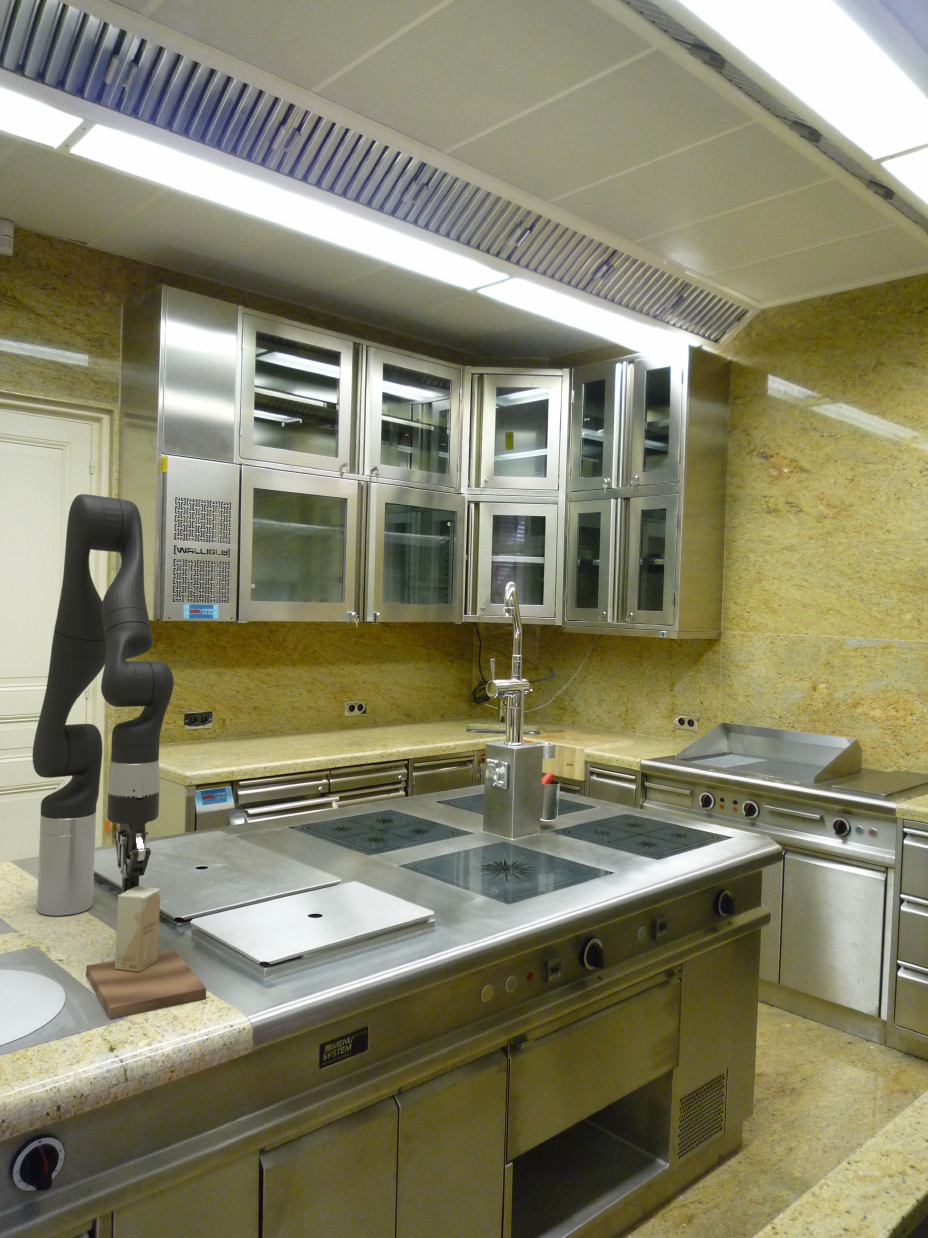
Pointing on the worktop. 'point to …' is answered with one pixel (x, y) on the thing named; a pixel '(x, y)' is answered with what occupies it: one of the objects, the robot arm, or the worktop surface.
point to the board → (145, 985)
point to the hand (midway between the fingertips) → (129, 900)
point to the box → (137, 928)
